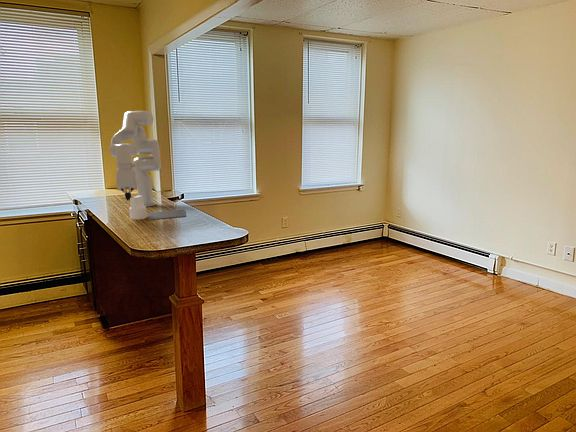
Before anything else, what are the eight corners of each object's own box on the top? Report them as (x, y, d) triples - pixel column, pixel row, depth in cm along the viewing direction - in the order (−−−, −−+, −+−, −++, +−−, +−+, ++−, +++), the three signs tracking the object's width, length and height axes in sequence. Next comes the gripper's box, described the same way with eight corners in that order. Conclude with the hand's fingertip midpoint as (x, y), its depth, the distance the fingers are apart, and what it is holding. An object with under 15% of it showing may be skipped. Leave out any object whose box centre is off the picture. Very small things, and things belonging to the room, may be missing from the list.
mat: (149, 213, 254) (149, 212, 254) (184, 210, 259) (184, 209, 258) (148, 220, 235) (147, 219, 235) (185, 216, 240) (185, 215, 239)
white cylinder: (141, 219, 238) (139, 198, 235) (127, 219, 239) (124, 198, 237) (150, 216, 246) (147, 195, 244) (135, 216, 248) (133, 195, 246)
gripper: (139, 165, 241) (143, 197, 245) (111, 167, 238) (115, 200, 241) (138, 166, 234) (142, 199, 238) (109, 168, 231) (113, 202, 234)
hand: (128, 199), depth 240 cm, fingers closed
